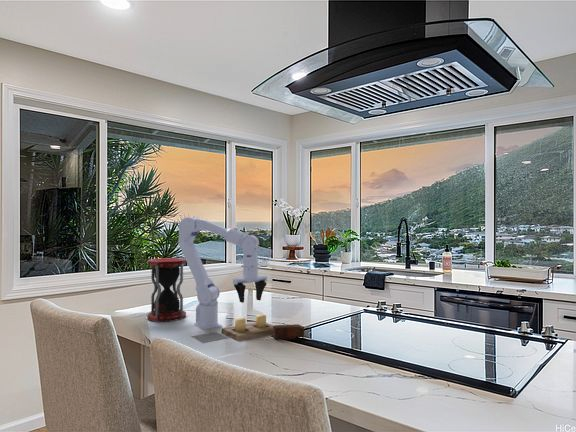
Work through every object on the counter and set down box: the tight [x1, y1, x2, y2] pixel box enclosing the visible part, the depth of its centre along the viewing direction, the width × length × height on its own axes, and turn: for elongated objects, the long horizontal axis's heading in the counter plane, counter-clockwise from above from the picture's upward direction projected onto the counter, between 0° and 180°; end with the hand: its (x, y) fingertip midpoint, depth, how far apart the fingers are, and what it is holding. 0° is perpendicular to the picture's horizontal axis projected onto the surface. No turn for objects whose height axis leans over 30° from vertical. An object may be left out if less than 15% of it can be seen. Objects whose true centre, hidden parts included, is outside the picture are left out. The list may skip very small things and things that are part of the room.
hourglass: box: [146, 257, 187, 323], centre depth 179 cm, size 16×16×25 cm
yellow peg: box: [234, 317, 247, 333], centre depth 151 cm, size 4×4×6 cm
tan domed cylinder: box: [255, 314, 267, 329], centre depth 157 cm, size 4×4×6 cm
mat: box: [190, 331, 229, 344], centre depth 148 cm, size 10×10×1 cm
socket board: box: [221, 321, 275, 342], centre depth 154 cm, size 12×18×2 cm, turn 127°
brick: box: [272, 323, 305, 341], centre depth 148 cm, size 11×4×5 cm, turn 106°
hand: (250, 301), depth 162 cm, fingers open, 7 cm apart
